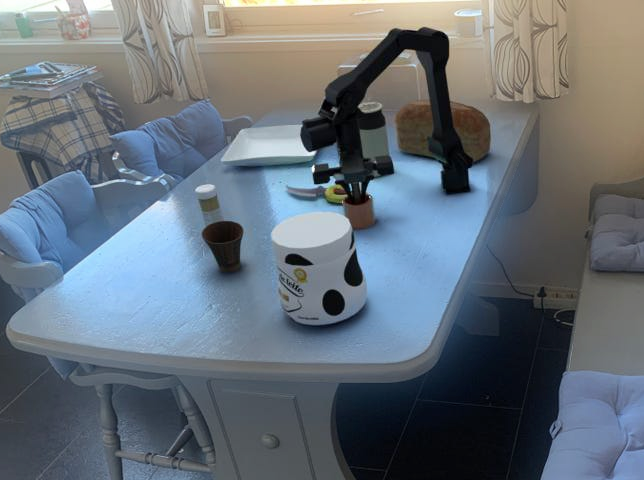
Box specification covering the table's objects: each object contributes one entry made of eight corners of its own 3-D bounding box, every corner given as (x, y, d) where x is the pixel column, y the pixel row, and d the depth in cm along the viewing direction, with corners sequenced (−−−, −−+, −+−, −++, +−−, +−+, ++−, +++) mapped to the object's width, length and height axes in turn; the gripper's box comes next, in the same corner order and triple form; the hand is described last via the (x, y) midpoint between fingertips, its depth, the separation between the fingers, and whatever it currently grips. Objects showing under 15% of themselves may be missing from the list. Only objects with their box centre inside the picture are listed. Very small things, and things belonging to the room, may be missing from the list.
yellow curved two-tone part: (275, 198, 199) (360, 207, 191) (273, 189, 197) (359, 198, 189) (290, 186, 205) (374, 194, 197) (288, 177, 203) (372, 185, 195)
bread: (414, 140, 227) (409, 91, 218) (497, 152, 214) (495, 101, 206) (391, 154, 219) (385, 104, 210) (476, 168, 206) (473, 115, 198)
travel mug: (396, 172, 208) (389, 106, 197) (371, 180, 205) (362, 113, 194) (382, 163, 213) (373, 99, 203) (357, 171, 210) (347, 106, 199)
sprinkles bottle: (226, 234, 184) (212, 182, 176) (231, 241, 181) (216, 188, 173) (207, 239, 183) (193, 186, 175) (211, 246, 179) (196, 193, 171)
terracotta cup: (373, 213, 188) (370, 191, 184) (376, 226, 182) (373, 203, 178) (344, 217, 187) (341, 195, 183) (346, 230, 181) (343, 207, 177)
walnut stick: (363, 211, 184) (358, 179, 179) (364, 214, 182) (359, 183, 177) (355, 212, 184) (350, 181, 179) (355, 215, 182) (350, 184, 177)
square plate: (317, 167, 215) (314, 154, 212) (222, 173, 216) (218, 160, 214) (329, 133, 236) (327, 121, 234) (243, 139, 238) (240, 127, 235)
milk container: (267, 327, 149) (246, 245, 139) (310, 283, 162) (294, 205, 151) (345, 340, 144) (330, 256, 133) (383, 293, 156) (372, 213, 146)
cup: (233, 283, 164) (221, 242, 158) (204, 274, 168) (191, 234, 162) (261, 265, 170) (251, 224, 164) (232, 256, 174) (221, 217, 168)
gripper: (308, 158, 165) (320, 223, 174) (393, 147, 167) (400, 212, 176) (306, 140, 174) (318, 203, 183) (387, 130, 176) (395, 193, 185)
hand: (358, 203), depth 181 cm, fingers closed on walnut stick, 2 cm apart
